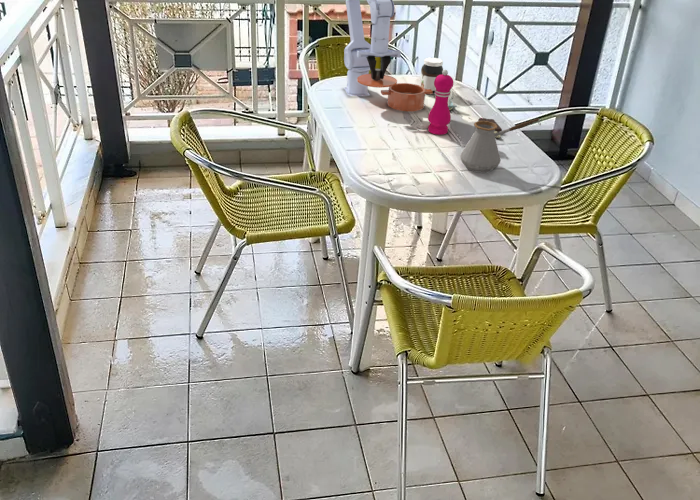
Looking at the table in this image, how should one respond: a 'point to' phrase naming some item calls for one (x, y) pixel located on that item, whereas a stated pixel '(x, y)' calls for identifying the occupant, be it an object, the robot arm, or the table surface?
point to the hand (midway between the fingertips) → (377, 78)
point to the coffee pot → (485, 146)
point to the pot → (406, 96)
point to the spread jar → (430, 72)
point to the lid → (377, 80)
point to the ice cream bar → (494, 123)
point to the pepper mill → (441, 105)
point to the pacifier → (451, 101)
